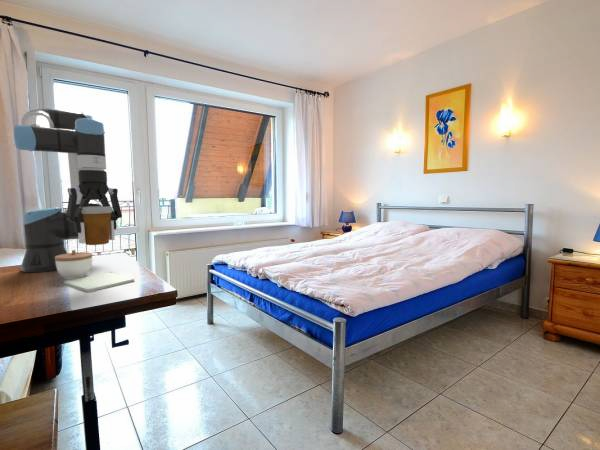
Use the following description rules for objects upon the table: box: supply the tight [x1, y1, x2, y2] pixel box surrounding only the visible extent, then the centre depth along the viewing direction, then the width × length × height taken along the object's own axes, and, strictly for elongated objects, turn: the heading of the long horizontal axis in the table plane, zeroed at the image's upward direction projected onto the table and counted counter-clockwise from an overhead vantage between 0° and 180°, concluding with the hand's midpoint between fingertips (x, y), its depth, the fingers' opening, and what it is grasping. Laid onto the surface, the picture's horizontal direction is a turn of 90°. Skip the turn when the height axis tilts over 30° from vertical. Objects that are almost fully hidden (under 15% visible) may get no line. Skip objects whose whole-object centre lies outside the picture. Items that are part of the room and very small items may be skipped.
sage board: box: [63, 272, 135, 293], centre depth 104 cm, size 16×14×1 cm
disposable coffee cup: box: [79, 205, 114, 246], centre depth 102 cm, size 10×10×12 cm
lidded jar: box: [55, 249, 93, 280], centre depth 111 cm, size 11×11×9 cm
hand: (97, 241), depth 103 cm, fingers closed on disposable coffee cup, 8 cm apart
